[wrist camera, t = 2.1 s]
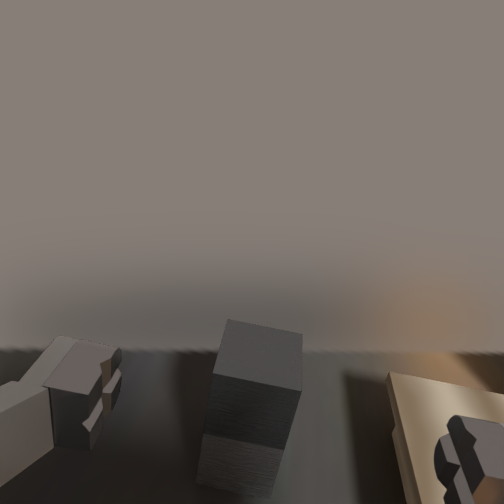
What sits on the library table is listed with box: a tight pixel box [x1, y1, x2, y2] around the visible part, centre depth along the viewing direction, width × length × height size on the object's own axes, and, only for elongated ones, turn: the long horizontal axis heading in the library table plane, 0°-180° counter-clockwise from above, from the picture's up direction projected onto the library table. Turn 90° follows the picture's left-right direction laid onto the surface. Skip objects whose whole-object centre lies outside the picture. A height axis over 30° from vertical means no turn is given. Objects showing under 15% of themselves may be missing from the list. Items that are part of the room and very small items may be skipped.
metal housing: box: [195, 319, 302, 499], centre depth 28 cm, size 5×5×10 cm
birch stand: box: [385, 371, 504, 504], centre depth 28 cm, size 13×13×5 cm
